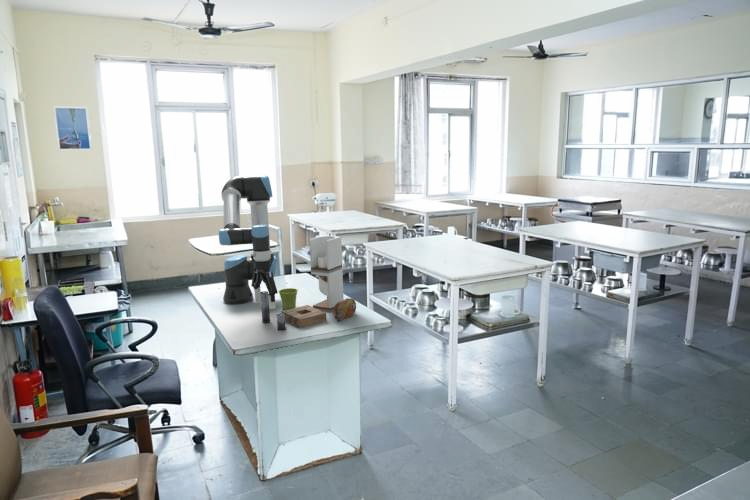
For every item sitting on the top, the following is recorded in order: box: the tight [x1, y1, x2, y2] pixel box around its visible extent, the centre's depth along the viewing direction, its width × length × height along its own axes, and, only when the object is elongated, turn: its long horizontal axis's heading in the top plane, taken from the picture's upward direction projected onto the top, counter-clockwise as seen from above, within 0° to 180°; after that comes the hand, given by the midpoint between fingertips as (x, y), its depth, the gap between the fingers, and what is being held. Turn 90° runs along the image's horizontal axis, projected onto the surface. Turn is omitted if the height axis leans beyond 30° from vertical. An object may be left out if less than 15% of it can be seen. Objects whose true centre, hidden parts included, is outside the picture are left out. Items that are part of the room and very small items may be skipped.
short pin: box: [276, 312, 287, 332], centre depth 230 cm, size 4×4×7 cm
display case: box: [308, 234, 345, 313], centre depth 257 cm, size 11×11×35 cm
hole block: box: [281, 304, 327, 329], centre depth 242 cm, size 16×14×4 cm
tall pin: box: [260, 290, 271, 324], centre depth 240 cm, size 4×4×14 cm
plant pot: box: [278, 287, 299, 310], centre depth 262 cm, size 9×9×9 cm
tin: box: [333, 297, 357, 322], centre depth 244 cm, size 15×3×8 cm, turn 148°
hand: (265, 305), depth 240 cm, fingers open, 13 cm apart
